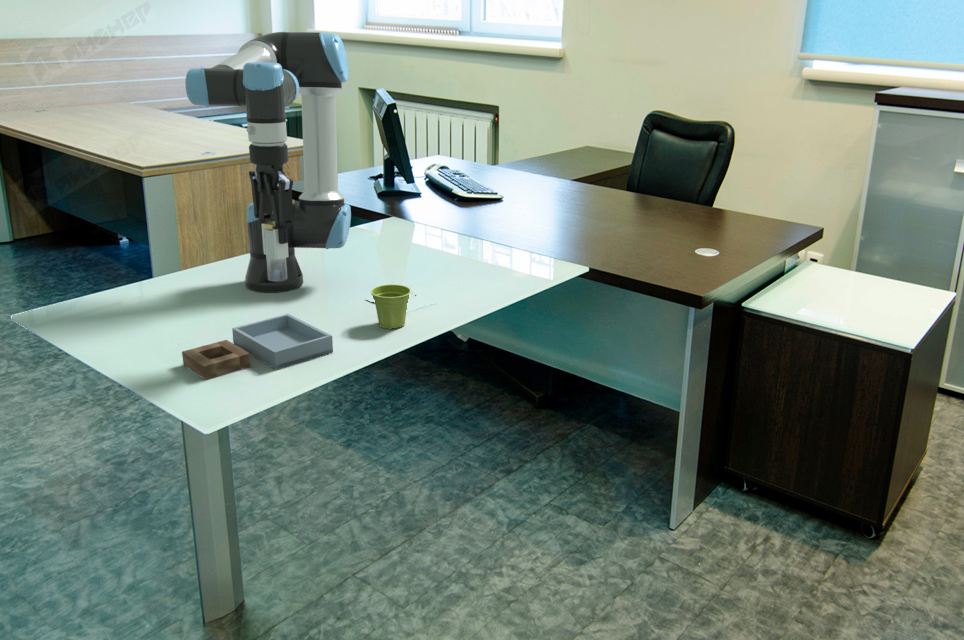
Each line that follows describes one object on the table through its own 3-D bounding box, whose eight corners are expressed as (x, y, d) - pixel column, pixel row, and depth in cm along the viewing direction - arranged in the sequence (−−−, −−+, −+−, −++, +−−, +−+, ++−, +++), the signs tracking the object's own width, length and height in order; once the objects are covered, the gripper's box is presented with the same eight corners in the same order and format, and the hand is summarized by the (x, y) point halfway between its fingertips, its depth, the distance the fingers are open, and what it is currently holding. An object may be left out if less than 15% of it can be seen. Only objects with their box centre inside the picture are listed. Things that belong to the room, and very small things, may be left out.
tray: (289, 329, 190) (288, 313, 189) (333, 352, 178) (332, 335, 177) (233, 345, 181) (232, 328, 180) (276, 370, 169) (274, 352, 168)
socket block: (227, 352, 177) (226, 339, 176) (250, 366, 170) (249, 353, 169) (183, 364, 171) (181, 351, 169) (205, 380, 164) (204, 366, 163)
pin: (281, 274, 176) (277, 220, 172) (290, 279, 174) (287, 223, 169) (264, 278, 174) (260, 223, 170) (274, 282, 171) (270, 226, 167)
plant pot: (400, 334, 189) (400, 299, 186) (364, 328, 192) (363, 293, 189) (418, 321, 197) (417, 287, 194) (383, 315, 200) (382, 282, 197)
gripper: (230, 139, 167) (239, 250, 175) (273, 150, 156) (281, 267, 164) (263, 136, 172) (271, 244, 180) (307, 146, 160) (313, 261, 169)
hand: (276, 255), depth 172 cm, fingers closed on pin, 4 cm apart
